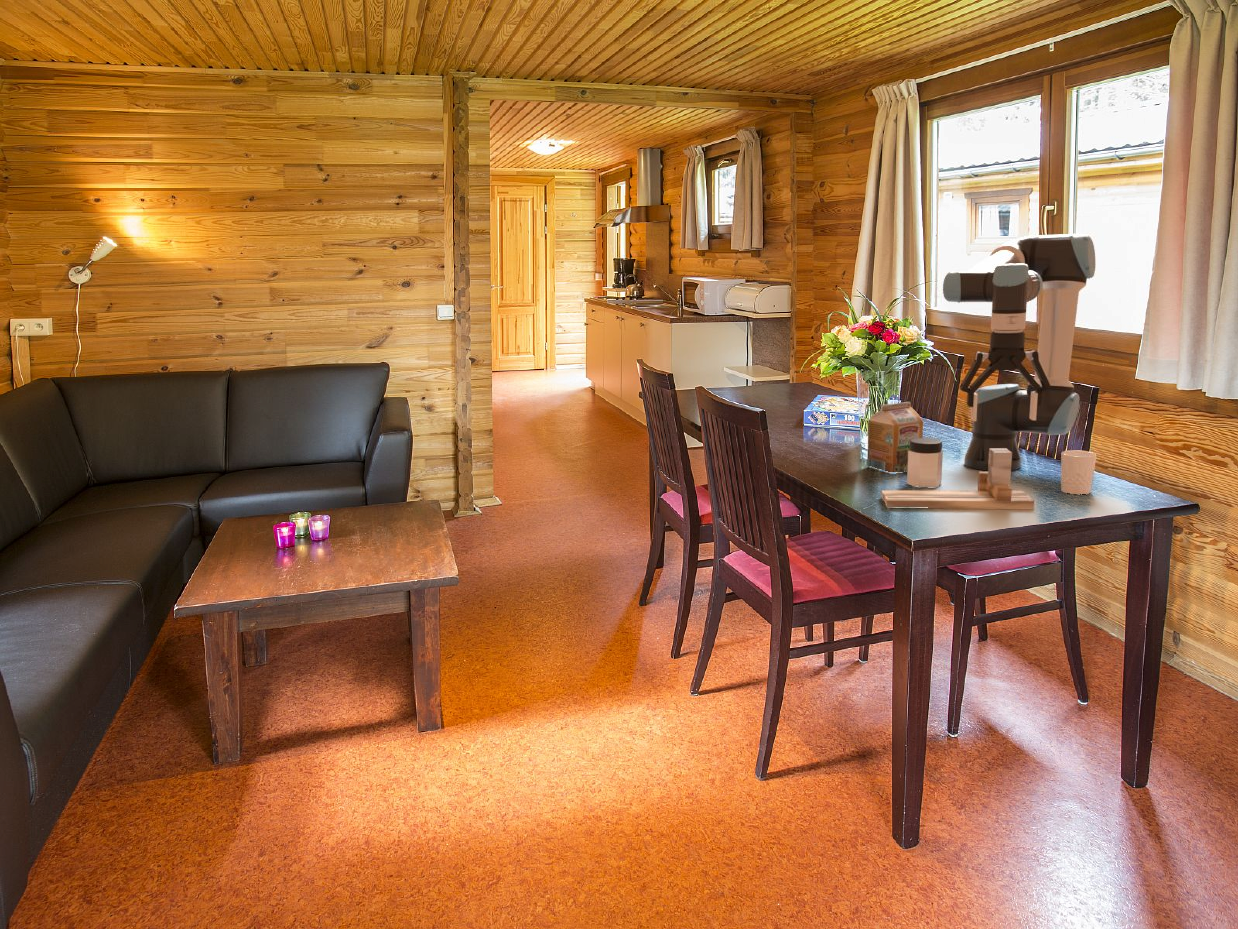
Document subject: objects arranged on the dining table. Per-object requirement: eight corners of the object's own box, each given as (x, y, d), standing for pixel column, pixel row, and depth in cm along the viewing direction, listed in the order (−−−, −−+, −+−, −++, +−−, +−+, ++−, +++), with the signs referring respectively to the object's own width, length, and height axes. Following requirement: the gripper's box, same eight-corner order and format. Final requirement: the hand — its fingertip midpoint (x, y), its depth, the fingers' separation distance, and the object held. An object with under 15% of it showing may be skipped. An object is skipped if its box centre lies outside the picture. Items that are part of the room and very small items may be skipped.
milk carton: (895, 463, 274) (897, 399, 270) (921, 470, 264) (923, 404, 260) (867, 467, 269) (868, 402, 265) (892, 474, 260) (894, 407, 256)
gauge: (977, 494, 235) (980, 444, 232) (1002, 494, 234) (1005, 444, 231) (990, 508, 222) (993, 455, 219) (1017, 509, 221) (1020, 455, 218)
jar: (948, 486, 246) (950, 441, 243) (924, 490, 242) (926, 445, 240) (923, 479, 253) (925, 436, 251) (900, 483, 250) (902, 439, 247)
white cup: (1097, 496, 232) (1100, 456, 229) (1063, 495, 233) (1066, 456, 231) (1088, 488, 239) (1091, 450, 237) (1055, 487, 241) (1058, 450, 238)
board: (881, 498, 236) (881, 490, 236) (1021, 498, 231) (1022, 490, 231) (886, 508, 226) (887, 500, 226) (1033, 509, 222) (1034, 500, 221)
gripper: (956, 334, 216) (952, 423, 221) (1069, 330, 213) (1062, 421, 218) (949, 330, 224) (945, 417, 229) (1058, 327, 220) (1052, 415, 225)
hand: (1002, 419), depth 223 cm, fingers open, 13 cm apart
